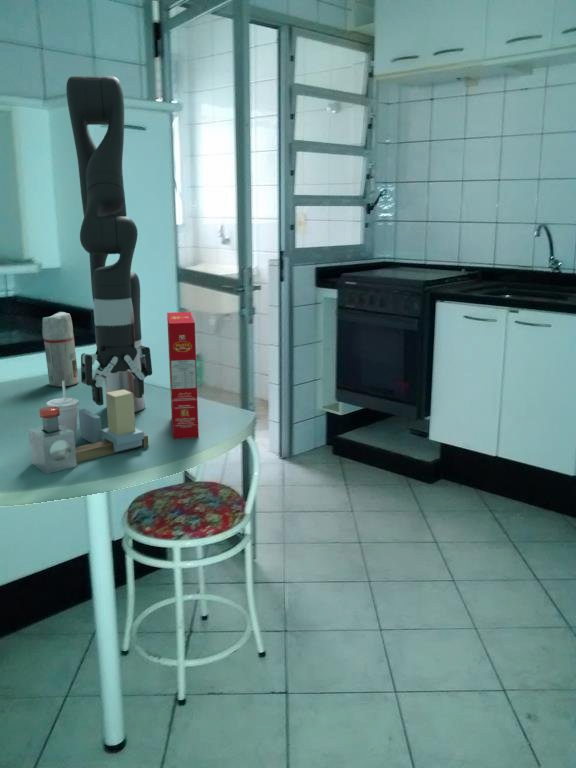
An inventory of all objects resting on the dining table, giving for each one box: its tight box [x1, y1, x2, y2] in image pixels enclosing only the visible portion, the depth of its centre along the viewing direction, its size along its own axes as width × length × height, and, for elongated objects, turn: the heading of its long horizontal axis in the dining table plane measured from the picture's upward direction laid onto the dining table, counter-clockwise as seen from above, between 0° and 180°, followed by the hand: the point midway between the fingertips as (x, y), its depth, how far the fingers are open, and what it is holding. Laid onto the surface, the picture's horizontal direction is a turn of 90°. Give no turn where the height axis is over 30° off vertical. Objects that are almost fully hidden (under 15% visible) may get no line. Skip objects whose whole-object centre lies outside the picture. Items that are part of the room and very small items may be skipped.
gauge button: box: [38, 406, 60, 434], centre depth 131 cm, size 4×4×7 cm
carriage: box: [78, 389, 145, 453], centre depth 143 cm, size 15×7×11 cm, turn 40°
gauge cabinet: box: [28, 423, 78, 475], centre depth 132 cm, size 7×6×7 cm
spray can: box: [41, 311, 79, 388], centre depth 190 cm, size 8×8×20 cm
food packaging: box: [166, 311, 200, 440], centre depth 152 cm, size 15×5×25 cm, turn 11°
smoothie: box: [45, 380, 80, 447], centre depth 141 cm, size 6×6×14 cm
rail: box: [75, 433, 149, 463], centre depth 139 cm, size 5×16×2 cm, turn 130°
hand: (119, 400), depth 139 cm, fingers open, 8 cm apart
